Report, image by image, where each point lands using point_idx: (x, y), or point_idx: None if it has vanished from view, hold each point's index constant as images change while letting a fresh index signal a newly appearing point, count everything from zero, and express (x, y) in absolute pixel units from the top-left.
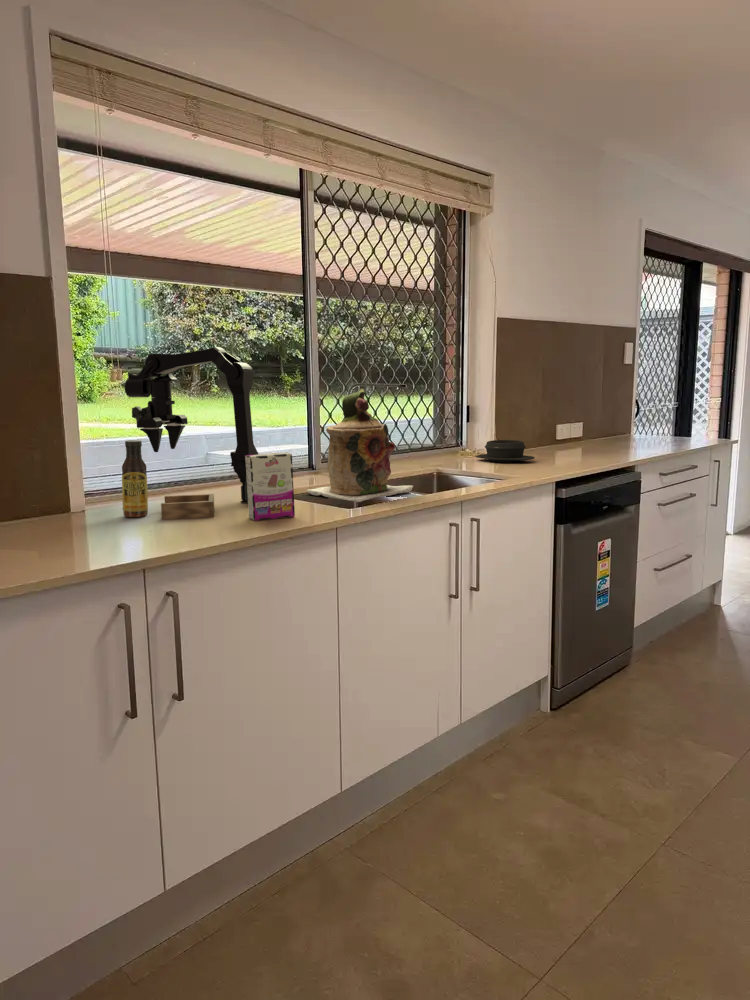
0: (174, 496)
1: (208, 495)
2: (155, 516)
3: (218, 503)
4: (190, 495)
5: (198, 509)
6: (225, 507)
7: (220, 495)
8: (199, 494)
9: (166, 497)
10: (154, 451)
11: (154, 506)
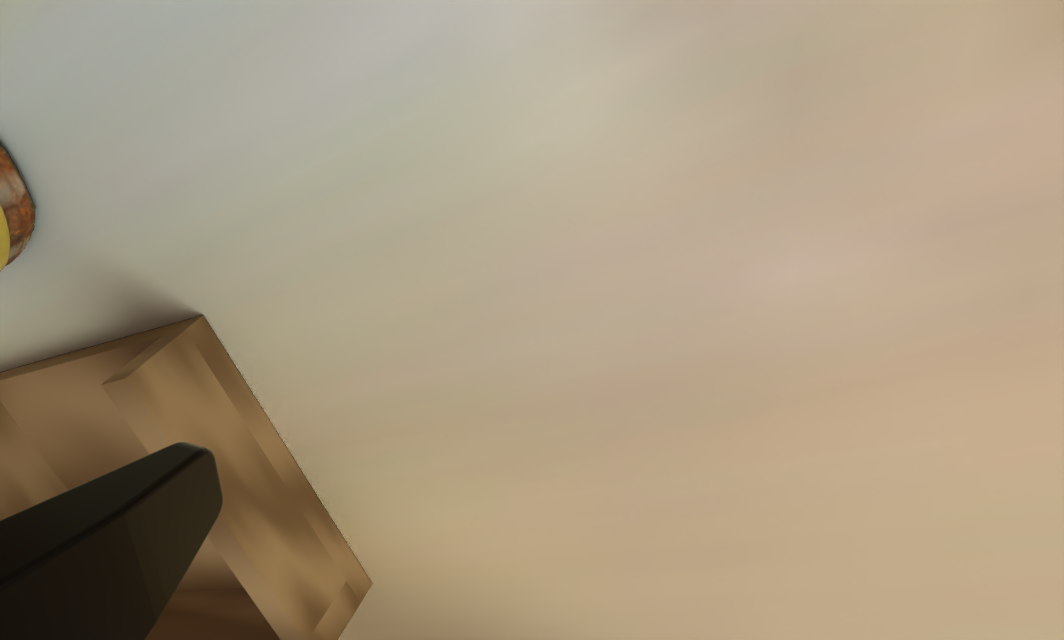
0: (145, 447)
1: (282, 634)
2: (32, 310)
3: (542, 593)
4: (214, 542)
5: None
6: (409, 634)
7: (972, 585)
8: (269, 590)
9: (113, 393)
10: (173, 453)
11: (319, 160)
